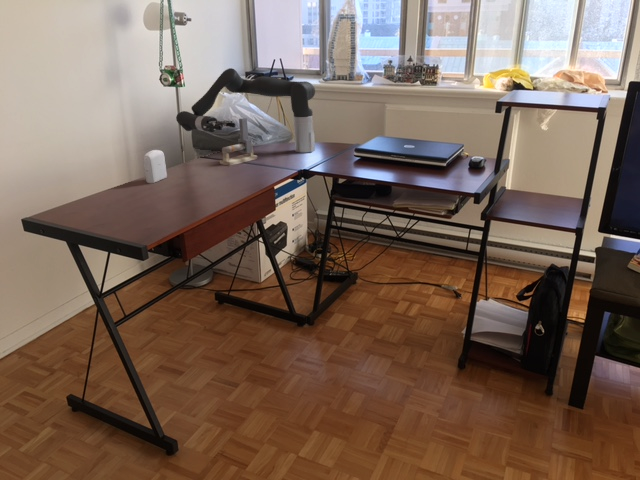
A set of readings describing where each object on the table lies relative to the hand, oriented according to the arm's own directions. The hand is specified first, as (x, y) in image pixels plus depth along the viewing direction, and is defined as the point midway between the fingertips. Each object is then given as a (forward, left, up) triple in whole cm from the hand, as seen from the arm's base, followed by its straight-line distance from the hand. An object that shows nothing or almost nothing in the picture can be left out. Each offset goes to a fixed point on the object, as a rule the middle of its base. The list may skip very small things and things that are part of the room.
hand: (228, 126), depth 258 cm
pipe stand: (-8, +9, -14) cm, 19 cm away
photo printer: (+12, +47, -15) cm, 51 cm away
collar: (-10, +5, -11) cm, 15 cm away
